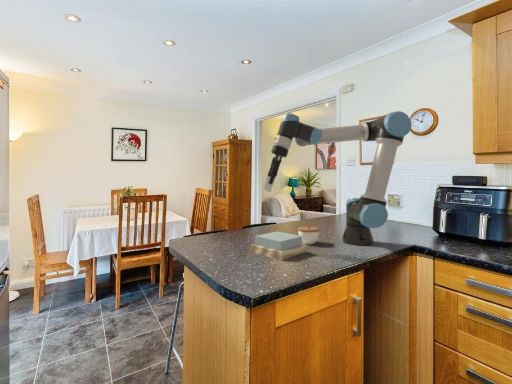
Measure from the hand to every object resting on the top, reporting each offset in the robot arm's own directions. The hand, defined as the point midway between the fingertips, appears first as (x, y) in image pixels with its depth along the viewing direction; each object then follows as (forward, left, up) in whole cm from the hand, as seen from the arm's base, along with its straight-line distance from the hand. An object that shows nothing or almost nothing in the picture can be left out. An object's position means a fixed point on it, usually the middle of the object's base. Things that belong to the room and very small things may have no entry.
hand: (266, 190), depth 128 cm
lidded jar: (-7, -24, -28) cm, 38 cm away
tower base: (-7, 0, -28) cm, 29 cm away
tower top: (-7, 0, -24) cm, 26 cm away
